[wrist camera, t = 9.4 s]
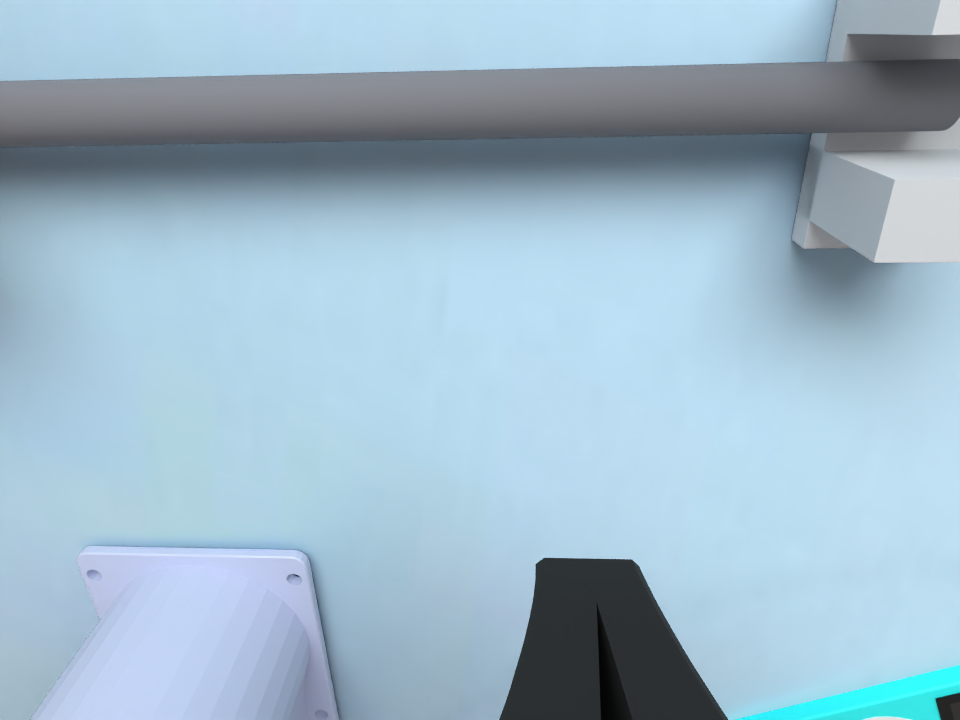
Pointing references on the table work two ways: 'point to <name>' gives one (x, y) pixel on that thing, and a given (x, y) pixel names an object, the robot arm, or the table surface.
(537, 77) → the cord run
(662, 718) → the robot arm
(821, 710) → the handheld game console
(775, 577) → the table surface
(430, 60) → the table surface
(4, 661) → the table surface
